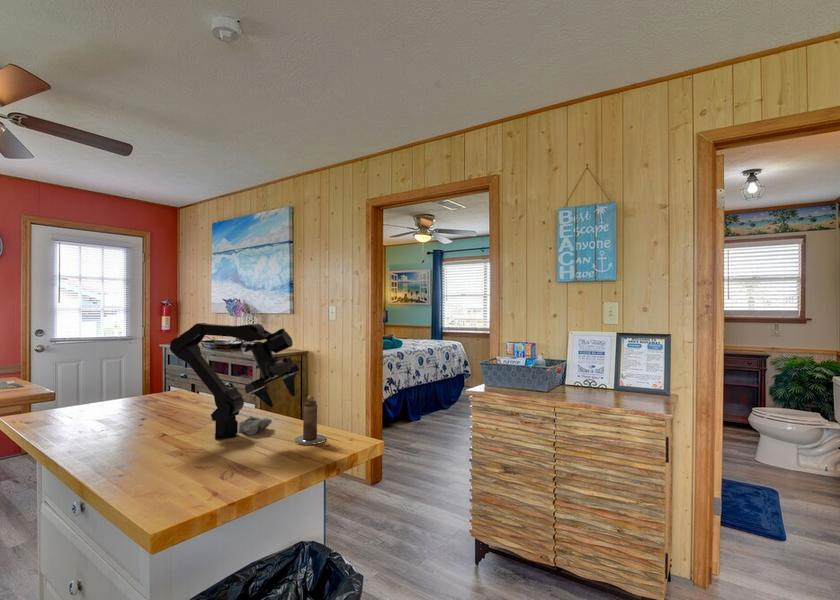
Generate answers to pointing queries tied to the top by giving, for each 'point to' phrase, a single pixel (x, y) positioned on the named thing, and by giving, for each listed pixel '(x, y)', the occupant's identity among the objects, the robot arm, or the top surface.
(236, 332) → the robot arm
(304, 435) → the pepper mill
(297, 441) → the slate coaster
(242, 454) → the top surface
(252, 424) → the mineral specimen
